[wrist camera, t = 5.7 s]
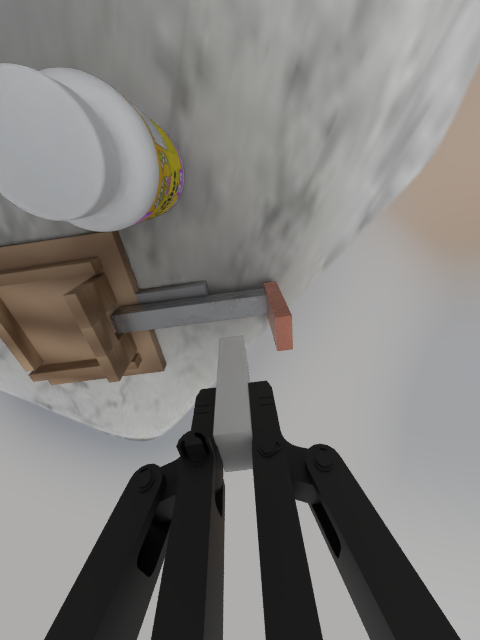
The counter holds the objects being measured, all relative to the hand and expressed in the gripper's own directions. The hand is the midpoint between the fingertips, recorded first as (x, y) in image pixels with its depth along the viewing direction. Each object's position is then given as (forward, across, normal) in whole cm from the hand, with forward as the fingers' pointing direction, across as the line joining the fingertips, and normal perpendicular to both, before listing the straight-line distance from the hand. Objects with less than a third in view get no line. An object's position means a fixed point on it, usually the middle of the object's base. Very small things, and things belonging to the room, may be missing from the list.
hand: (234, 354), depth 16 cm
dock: (+11, -13, -1) cm, 17 cm away
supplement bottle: (+12, -6, +11) cm, 17 cm away
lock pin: (+10, -4, -1) cm, 10 cm away
